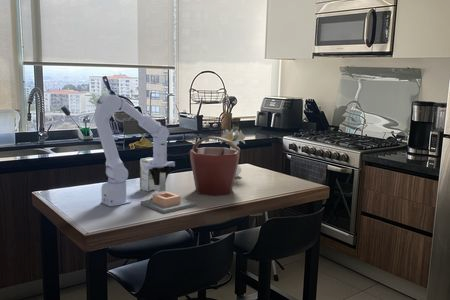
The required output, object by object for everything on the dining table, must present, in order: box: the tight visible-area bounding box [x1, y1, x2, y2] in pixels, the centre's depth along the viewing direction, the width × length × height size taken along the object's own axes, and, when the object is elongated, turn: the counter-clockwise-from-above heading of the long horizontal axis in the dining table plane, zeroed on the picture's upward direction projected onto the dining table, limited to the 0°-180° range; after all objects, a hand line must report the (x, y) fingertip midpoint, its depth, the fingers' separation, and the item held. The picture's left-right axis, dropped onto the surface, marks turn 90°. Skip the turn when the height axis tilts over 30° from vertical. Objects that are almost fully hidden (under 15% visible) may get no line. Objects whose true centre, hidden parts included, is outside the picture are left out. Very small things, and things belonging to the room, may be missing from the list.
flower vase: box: [220, 128, 246, 178], centre depth 236 cm, size 13×18×25 cm
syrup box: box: [139, 156, 159, 192], centre depth 205 cm, size 6×6×14 cm
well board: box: [140, 191, 197, 214], centre depth 182 cm, size 16×16×4 cm
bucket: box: [189, 136, 241, 197], centre depth 203 cm, size 24×22×25 cm
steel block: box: [153, 171, 167, 193], centre depth 194 cm, size 3×4×8 cm
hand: (159, 184), depth 194 cm, fingers closed on steel block, 3 cm apart
